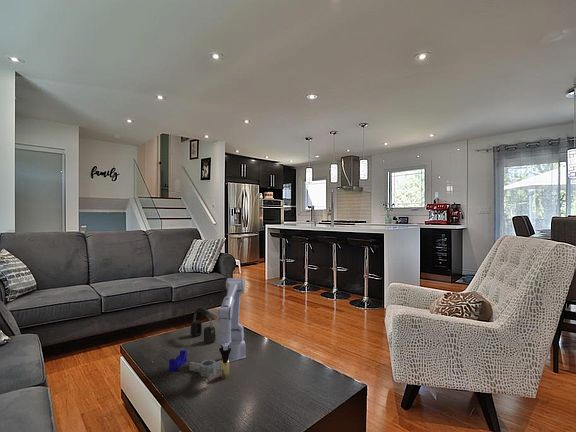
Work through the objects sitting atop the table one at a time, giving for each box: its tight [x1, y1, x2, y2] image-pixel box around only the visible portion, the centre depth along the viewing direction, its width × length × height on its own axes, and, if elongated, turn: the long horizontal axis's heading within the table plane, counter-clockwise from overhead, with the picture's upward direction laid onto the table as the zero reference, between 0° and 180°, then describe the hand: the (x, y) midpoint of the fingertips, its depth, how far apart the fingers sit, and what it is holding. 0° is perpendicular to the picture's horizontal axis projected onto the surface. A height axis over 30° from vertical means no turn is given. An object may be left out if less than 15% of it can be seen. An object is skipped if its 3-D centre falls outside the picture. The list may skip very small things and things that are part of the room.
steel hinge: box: [189, 359, 222, 378], centre depth 159 cm, size 18×12×5 cm
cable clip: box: [168, 349, 188, 373], centre depth 163 cm, size 12×4×6 cm, turn 169°
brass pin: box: [220, 359, 230, 380], centre depth 152 cm, size 4×4×8 cm
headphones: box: [189, 307, 217, 344], centre depth 200 cm, size 22×6×20 cm, turn 48°
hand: (225, 358), depth 152 cm, fingers open, 7 cm apart
